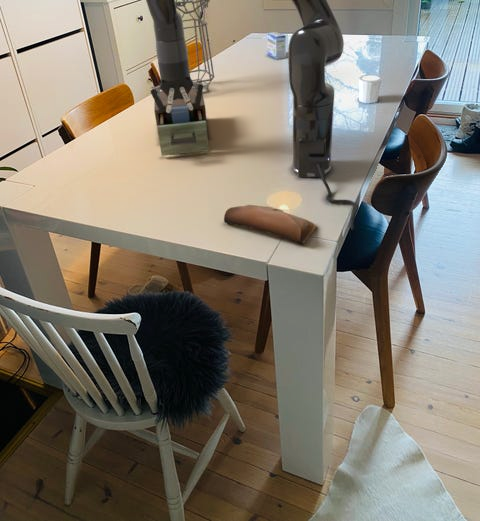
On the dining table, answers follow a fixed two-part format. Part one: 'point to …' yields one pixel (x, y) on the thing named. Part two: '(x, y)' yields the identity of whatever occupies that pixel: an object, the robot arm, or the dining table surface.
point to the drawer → (182, 135)
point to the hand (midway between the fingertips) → (181, 123)
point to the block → (180, 114)
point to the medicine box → (276, 45)
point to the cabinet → (180, 105)
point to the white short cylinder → (369, 88)
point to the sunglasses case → (270, 221)
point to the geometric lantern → (200, 38)
